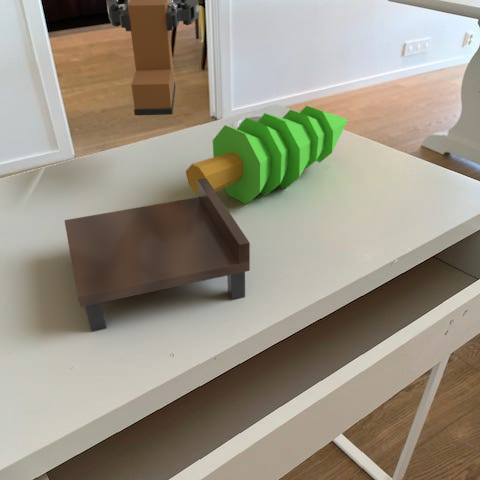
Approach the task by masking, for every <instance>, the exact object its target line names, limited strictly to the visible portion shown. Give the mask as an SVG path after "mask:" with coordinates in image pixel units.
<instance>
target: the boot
mask: <svg viewBox="0 0 480 480" xmlns="http://www.w3.org/2000/svg"><path fill="white" fill-rule="evenodd" d="M167 7H168V2H167V0H130V2H129V4H128V13H129V19H130V27H131V31H130V34H131V45H132V49H133V51H132V52H133V58H134V67H135V72H134V75H133V78H132V82H131V91H132V101H133V108H134V109H133V112H134V113H133V115H134V116H164V115H165V116H166V115H167V116H168V115H173V113H174V111H173V110H174V105H175V96H176V89H177V88H176V86H177V85H176V82H175V74H174V63H173V62H174V60H173V50H172V37H171V31H168V30H167V21H166V11H167Z"/></svg>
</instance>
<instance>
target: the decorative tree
mask: <svg viewBox="0 0 480 480" xmlns="http://www.w3.org/2000/svg"><path fill="white" fill-rule="evenodd" d="M348 121H349V119H348V118H347V117H346V118H345V117H342V116H339V115H337V114H333V113H330V112H327V111H325V110H321V109H317V108H315V107H311V106H309V105H306V106H304V107H303V108H302V110H301V111H299V112H298V111H296V110H293V109H289V110H288V111H287V112H286V113H285V114H284V116H282V117H280V116H277V115H274V114H269V113H267V112H265V113H263V114H262V116H261V117H260V118H259V119H258V120H257V121H256V120H253V119H251V118H248V117H246V118H245V119H243V121H242V122H241V123H240V125H239V126H238V127H237V128H234V127H231V126H228V125H226V124H225V125H223V126H222V128H221V129H220V131H218V133H217V134H216V135H215V137H214V138H213V139H212V152H213V153H212V156H213V157H211V158H207V159H204V160H201V161H198V162H193V163H191V164H190V166H189V167H188V168H187V169H186V170H185V175H186V179H187V183H188V186H189V187H190V189H191V190H192V191H193V193H195V195H196V196H197V197H199V193H198V179H204V178H207V180H208V181H209V183H210V184H211V186H212V187H213V189H214V190H215V192H216V193H217V192H219V191H221V190H223V189H224V190H225V193H226V194H227V196H229V197H232V198H233V199H235V200H236V201H239V202H240V203H242V204H244V205H248V204H249V203H250V202H251V201H252V200H254V199H255V198H256V197H257V196H258V195H260V194H262V195H264V196H267V195H269V194H270V193H271V192H272V191H274V189H277V187H278V186H279V187H281V188H283V189H285V190H286V189H287V188H288V187H290V186H291V185H293V183H294V182H295V181H297V180H298V179H300V177H301V175H302V173H303V172H304V171H305V170H306V169H308V168H309V167H310V166H312V164H314V163H316V162H318V163H322V162H323V161H324V160H325V159H327V157H329V156H331V154H332V153H333V152H334V149H335V147H336V145H337V143H338V142H339V140H340V137H341V135H342V133H343V131H344V129H345V128H346V125H347V123H348Z"/></svg>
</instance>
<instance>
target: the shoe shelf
mask: <svg viewBox="0 0 480 480" xmlns="http://www.w3.org/2000/svg"><path fill="white" fill-rule="evenodd" d="M198 193H199V196H197V197H191V198H185V199H178V200H174V201H168V202H162V203H156V204H150V205H144V206H139V207H133V208H127V209H121V210H115V211H110V212H104V213H97V214H92V215H87V216H80V217H75V218H70V219H69V218H68V219H64V226H65V232H66V239H67V245H68V249H69V255H70V261H71V266H72V273H73V278H74V284H75V290H76V291H75V292H76V296H77V301H78V304H79V307H81V308H82V307H84V308H85V309H84V310H85V313H86V316H87V320H88V324H89V328H90V332H98V331H101V330H106V329H107V328H108V327H107V322H106V318H105V315H104V314H105V313H104V310H103V306H102V303H104V302H105V303H106V302H110V301H115V300H119V299H124V298H128V297H129V298H130V297H133V296H138V295H143V294H147V293H152V292H157V291H161V290H165V289H171V288H175V287H180V286H184V285H189V284H194V283H200V282H203V281H209V280H212V279H218V278H222V277H226V276H227V277H226V279H227V293H228V295H229V296H230V299H231V300H237V299H242V298H246V272H250V270H251V265H250V264H251V258H250V257H251V253H250V252H251V250H250V249H251V248H250V247H251V245H250V244H251V243H250V241H249V239H248V237H247V236H246V234H244V232H243V230H242V229H241V228H240V226H239V224H238V222H236V219H234V217H233V216H232V214H231V212H230V211H229V209H228V208H227V206H226V204H224V202H223V201H222V199H221V198H220V196H219V195H218V193H217V192H215V190H214V189H213V187H212V186H211V184H210V183H209V181H208V180H207V178H204V179H198Z"/></svg>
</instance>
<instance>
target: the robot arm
mask: <svg viewBox="0 0 480 480" xmlns="http://www.w3.org/2000/svg"><path fill="white" fill-rule="evenodd" d="M105 2H106V8H107V14H108V19H109V21H110V24H111V26H113V27H121V28H122V29H125V32H131V27H130V19H129V13H128V4H129V2H130V0H124V3H121V4H120V1H119V0H105ZM167 2H168V7H167V11H166V21H167V30H168V31H170V32H173V31H174V28H177V27H178V26H179V25H180V22H182V25H185V26H189V25H192V24H193V23H194V22H195V21H196V20H198V19H199V17H200V6H199V0H185V1H184V2H182V0H167Z"/></svg>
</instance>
